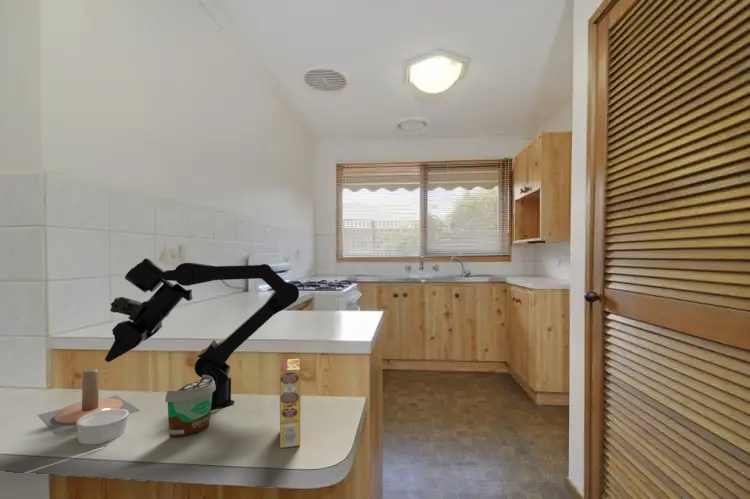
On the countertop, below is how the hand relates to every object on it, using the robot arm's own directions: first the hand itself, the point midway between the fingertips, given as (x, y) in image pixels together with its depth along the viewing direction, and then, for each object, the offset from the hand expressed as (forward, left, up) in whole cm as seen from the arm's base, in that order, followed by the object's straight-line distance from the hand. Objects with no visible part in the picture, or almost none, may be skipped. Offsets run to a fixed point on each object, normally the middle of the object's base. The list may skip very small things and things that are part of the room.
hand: (114, 356), depth 90 cm
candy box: (-19, +42, -14) cm, 48 cm away
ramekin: (+5, +11, -14) cm, 19 cm away
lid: (+3, -5, -14) cm, 15 cm away
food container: (-9, +23, -14) cm, 29 cm away
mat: (+3, -5, -14) cm, 15 cm away
